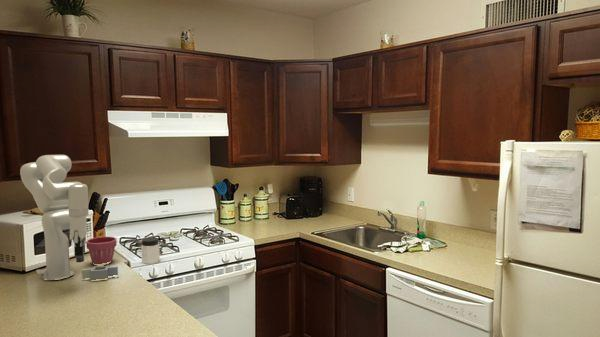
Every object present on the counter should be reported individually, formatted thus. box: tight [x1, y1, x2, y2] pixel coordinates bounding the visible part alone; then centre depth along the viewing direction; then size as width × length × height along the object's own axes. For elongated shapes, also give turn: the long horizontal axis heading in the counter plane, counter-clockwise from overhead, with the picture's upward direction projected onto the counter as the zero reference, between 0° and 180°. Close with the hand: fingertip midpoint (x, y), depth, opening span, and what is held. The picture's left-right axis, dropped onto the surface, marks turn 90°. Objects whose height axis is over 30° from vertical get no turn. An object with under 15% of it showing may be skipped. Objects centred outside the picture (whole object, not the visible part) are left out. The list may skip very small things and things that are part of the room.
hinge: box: [81, 264, 119, 281], centre depth 193 cm, size 15×7×5 cm, turn 105°
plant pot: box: [85, 236, 118, 264], centre depth 216 cm, size 14×14×13 cm
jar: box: [140, 237, 161, 265], centre depth 220 cm, size 9×8×12 cm
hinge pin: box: [72, 236, 87, 263], centre depth 181 cm, size 5×5×10 cm
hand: (79, 253), depth 181 cm, fingers closed on hinge pin, 3 cm apart
